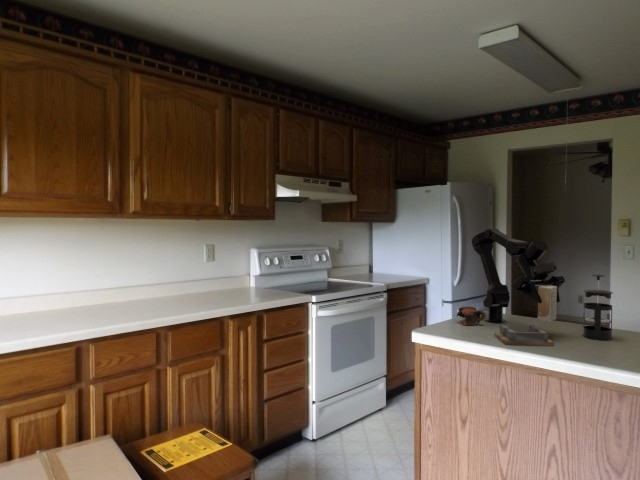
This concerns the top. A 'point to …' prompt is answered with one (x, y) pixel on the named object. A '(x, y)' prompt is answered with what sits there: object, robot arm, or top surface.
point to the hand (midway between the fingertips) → (549, 302)
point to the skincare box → (547, 303)
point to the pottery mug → (470, 315)
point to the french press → (597, 315)
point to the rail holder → (524, 337)
